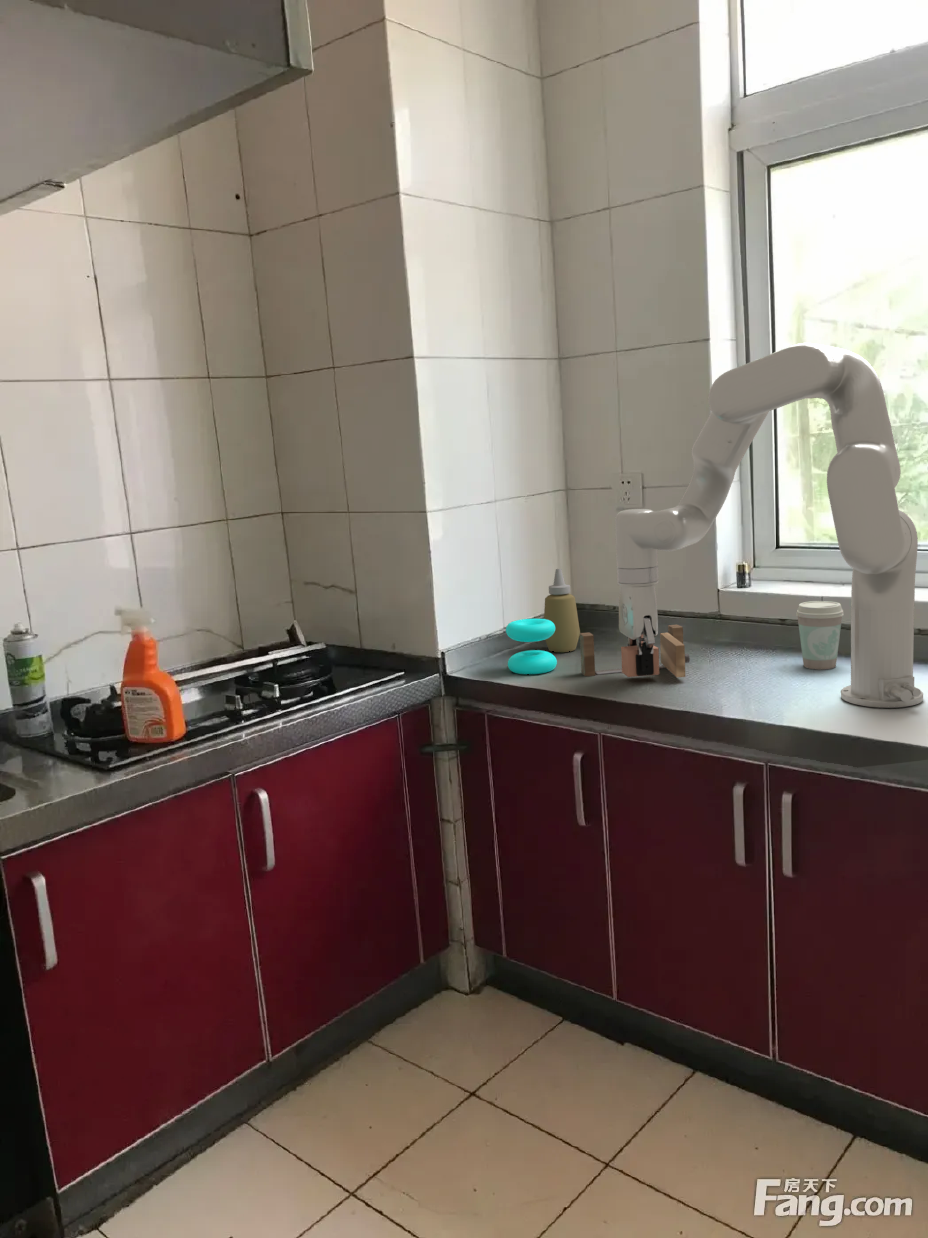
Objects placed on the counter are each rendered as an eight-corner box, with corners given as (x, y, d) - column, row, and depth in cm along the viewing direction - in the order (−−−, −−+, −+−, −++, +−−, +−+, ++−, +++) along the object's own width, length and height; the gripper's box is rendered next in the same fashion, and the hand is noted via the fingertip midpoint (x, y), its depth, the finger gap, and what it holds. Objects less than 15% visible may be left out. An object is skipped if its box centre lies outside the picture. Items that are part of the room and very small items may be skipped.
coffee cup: (798, 671, 187) (797, 608, 185) (794, 661, 195) (794, 601, 193) (846, 671, 185) (846, 607, 183) (840, 661, 193) (840, 600, 191)
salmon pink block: (659, 674, 186) (658, 648, 185) (628, 677, 185) (627, 650, 185) (652, 669, 190) (651, 644, 189) (621, 672, 189) (621, 646, 188)
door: (674, 661, 197) (674, 632, 196) (691, 676, 184) (691, 644, 183) (660, 663, 196) (659, 633, 195) (676, 677, 184) (675, 645, 183)
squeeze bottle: (538, 649, 222) (534, 569, 218) (571, 644, 224) (568, 565, 221) (552, 655, 214) (548, 572, 211) (586, 651, 216) (583, 569, 213)
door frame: (683, 666, 196) (682, 627, 195) (585, 676, 194) (583, 636, 192) (678, 663, 199) (677, 624, 198) (581, 673, 197) (579, 633, 195)
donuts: (539, 627, 193) (495, 625, 199) (541, 677, 195) (498, 673, 201) (563, 618, 201) (521, 616, 207) (566, 666, 203) (524, 663, 209)
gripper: (605, 572, 192) (609, 664, 195) (631, 583, 176) (635, 684, 179) (643, 569, 193) (646, 661, 196) (672, 580, 177) (675, 680, 180)
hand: (641, 671), depth 188 cm, fingers closed on salmon pink block, 4 cm apart
